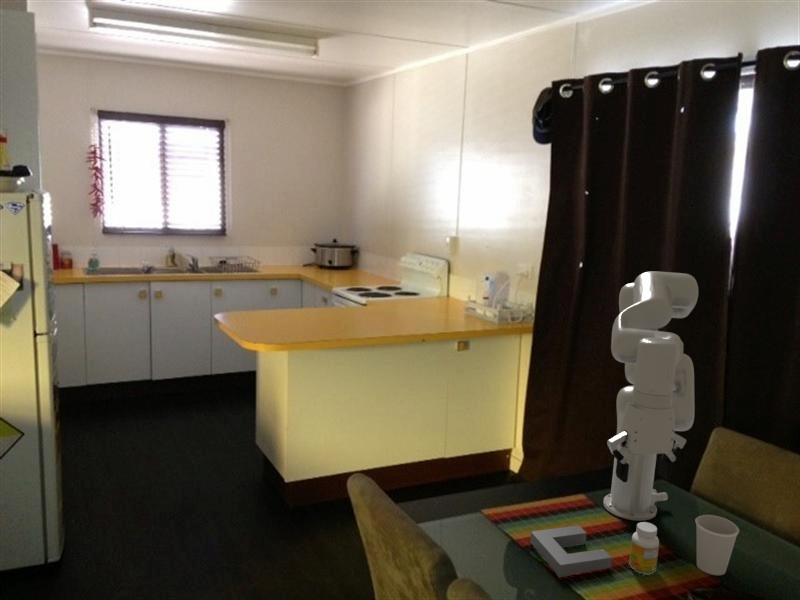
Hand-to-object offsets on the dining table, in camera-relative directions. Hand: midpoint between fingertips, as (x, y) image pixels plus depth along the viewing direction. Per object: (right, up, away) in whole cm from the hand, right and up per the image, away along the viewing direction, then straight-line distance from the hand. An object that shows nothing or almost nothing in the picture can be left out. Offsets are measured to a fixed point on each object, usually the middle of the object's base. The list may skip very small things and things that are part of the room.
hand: (642, 478), depth 137 cm
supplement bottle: (+1, -20, +3) cm, 20 cm away
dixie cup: (+16, -20, +4) cm, 26 cm away
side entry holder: (-14, -19, +6) cm, 24 cm away
